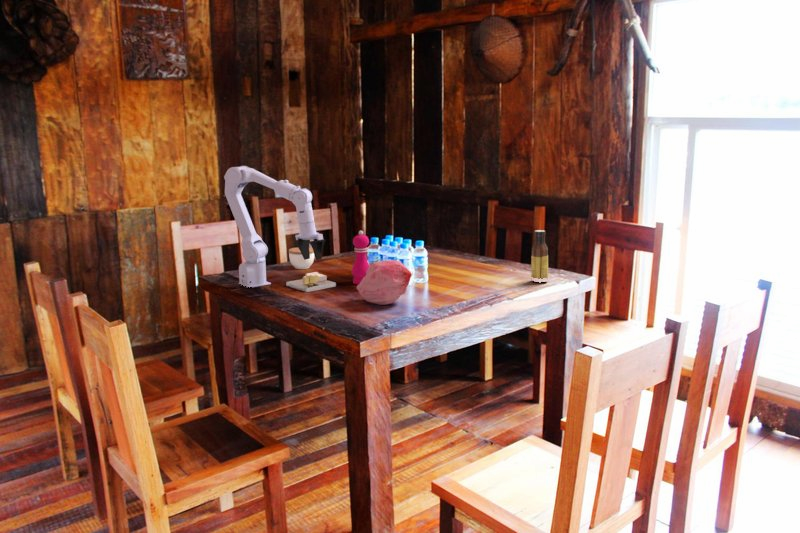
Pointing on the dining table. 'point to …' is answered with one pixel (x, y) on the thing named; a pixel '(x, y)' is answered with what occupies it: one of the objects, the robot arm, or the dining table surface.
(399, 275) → the decorative rock
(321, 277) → the cream flat block
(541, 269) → the sauce bottle
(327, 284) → the panel
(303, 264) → the lidded jar
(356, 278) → the pepper mill
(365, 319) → the dining table surface
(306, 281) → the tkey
